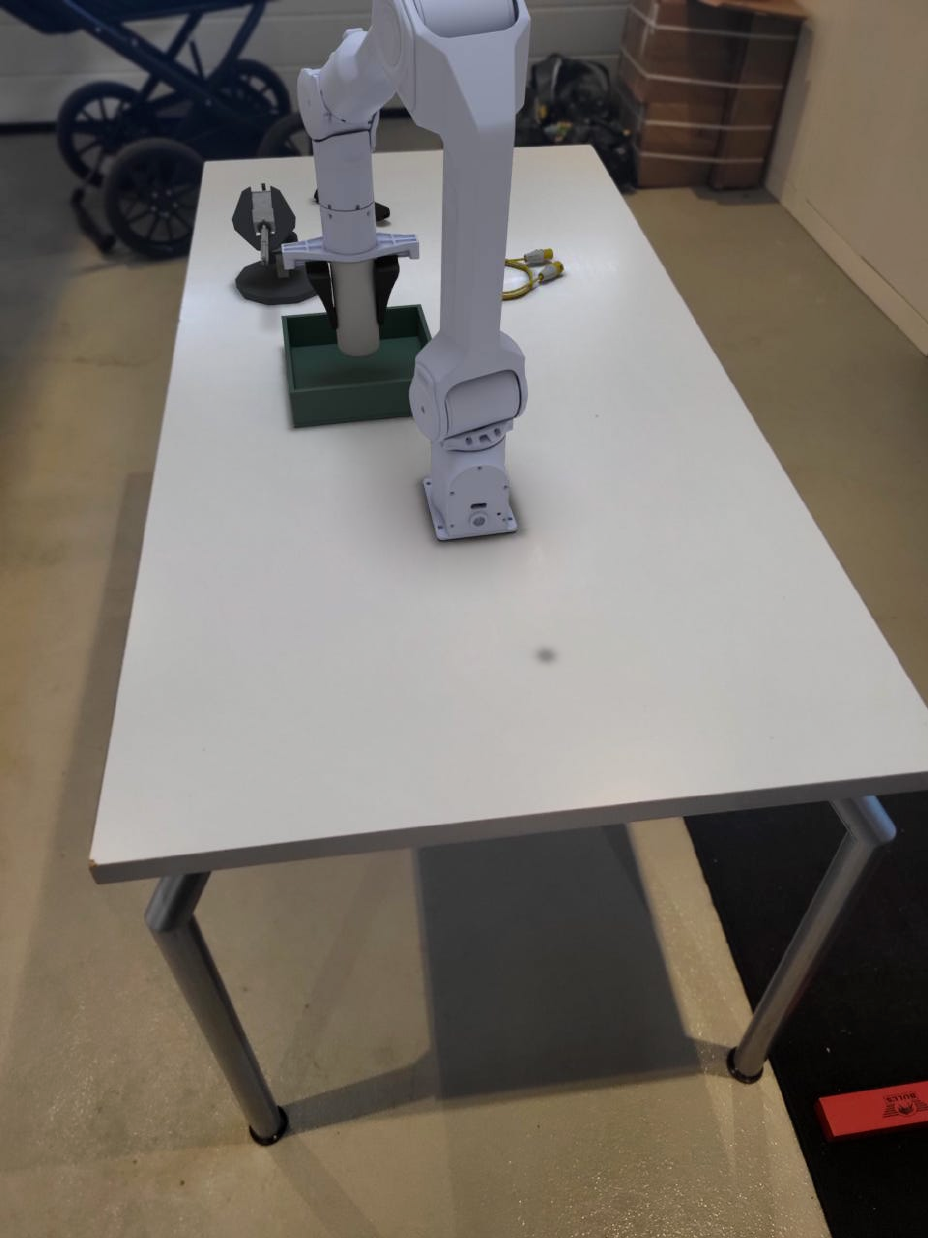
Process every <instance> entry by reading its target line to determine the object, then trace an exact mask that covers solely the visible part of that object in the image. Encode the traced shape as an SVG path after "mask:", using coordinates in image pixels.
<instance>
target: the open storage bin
mask: <svg viewBox="0 0 928 1238" xmlns="http://www.w3.org/2000/svg"><path fill="white" fill-rule="evenodd" d="M280 318H281V327H282V336H283V347H284V357H285V364H286V365H285V366H286V376H287V386H288V387H287V388H288V396H289V401H290V406H291V408H290V409H291V413H292V420H293V426H294V428H303V427H312V426H313V427H314V426H323V425H329V424H331V425H332V424H341V423H350V422H351V423H352V422H360V421H370V420H379V419H380V420H381V419H390V418H399V417H408V416H413V414H412V411H411V407H410V401H409V389H410V385H411V383H412V379H413V377H414V371H415V357H416V356H417V355H418V353H419V352H420V351H421V350H422V349H423V348H424V347H425V346H426V345H427V344H428V343H429V342H430V341H431V340H432V338H433V337H432V334H431V331H430V328H429V325H428V321H427V318H426V316H425V312H424V310H423V306H422V304H421V303H417V304H404V305H391V306H387V308H386V313H385V321H384V325H378V328H379V342H380V345H379V348H378V350H377V351H376V352H375V353H374V354H373V355H371V356H369V357H366V358H351V357H348V356H346V355H345V354H343V353H342V351H341V350H340V349H339V347H338V339H337V330H336V329H331V325H330V321H329V318H328V315H327V312H326V311H324V312H313V313H312V312H311V313H301V314H300V313H299V314H289V315H281V317H280Z"/></svg>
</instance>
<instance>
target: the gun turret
mask: <svg viewBox="0 0 928 1238" xmlns="http://www.w3.org/2000/svg"><path fill="white" fill-rule="evenodd" d="M260 187H261V190H255V191H254V190H253V191H252V186H251V185H250V186H248V187H246V188H244V189H243V190H241V192H240V195H239V197H238V200H237V203H236V206H235V208H234V211H233V214H232V216H231V223H232V226H233V231H235V232H236V233H237V234H238V235H239V236H240V237H241V238H243V240H245V241H246V242H247V243H248V244H249V245H250V246H251V247H252V248H254V249H255V250H256V251H258V252H260V260H258V261H256V262H252V263H251V264H247V265H245V266H243V268H242V269H241V270H240V272H239V274H238V275H237V276H236V277H235V278H234V282H235V287H236V288H237V290H238V291H239V293H240V294H241V295H242V297H243V298H244V299H246V300H249V301H252V302H256V303H260V304H264V305H267V306H271V305H272V306H273V305H289V304H299V303H301V302H303V301H305V300H308V299H310V298H313V297H316V296H318V294H317V293H316V291H315V290H314V288H313V287H312V285H311V284H310V282H309V280H308V278H307V273H306V266H305V265H299V266H295V268H294V269H285V268H284V261H283V254H282V246H281V244H287V243H294V242H299V237H298V234H297V233H296V232H295V231H294V230H295V229H296V221H297V219H296V218H297V217H296V215H295V213H294V211H293V210H292V208H291V206H290V205H289V202H288V201H287V200H286V197H285V196H284V194H283V193H282V191H281V190H280V189H279V188H277V187H275V186H273V185H269V189H268V190H267V189H266V183H265V182H261V183H260Z"/></svg>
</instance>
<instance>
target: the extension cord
mask: <svg viewBox="0 0 928 1238" xmlns="http://www.w3.org/2000/svg"><path fill="white" fill-rule="evenodd" d="M553 259H554V251H553V248H545V249H543V248H538V249H535V250H532V251H530V252H528V253H524V254H523V257H520V258H511V259H509V258H505V266H506V265H507V266H511V267H514V268H518V269H521V270H523V271H525V272H526V273H527V274H528V276H529V282H528V283H526V284H525V285H523V286H521V287H518V288H516V289H513V290H507V291H503V295H502V300H508V299H513V298H516V297H519V296H521V295H525V294H526V293H527V292H529V291H530V290H531V289H532V287H533V285H534V283H536V282H538V281H540V282H543V281H547V280H553V279H554V278H555V277H557V276H558V275H560V274H562V273H563V271H564V270H565V267H564V264H563V263H562V262H561V261H559V260H556V261H554V262H552V263H550V264H548V265H545V266H544V268H543V269H542V270H541V271H540V272H539V273H538V274H537V277H536V278H533V274H532V272H531V271H532V270H531V269H530V268H529V266H527V265H526V264H541V263H544V262H546V261H551V260H553ZM523 261H524V263H525V264H524V263H522V262H523Z"/></svg>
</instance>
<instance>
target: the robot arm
mask: <svg viewBox="0 0 928 1238" xmlns="http://www.w3.org/2000/svg"><path fill="white" fill-rule="evenodd" d="M371 3H372V5H371V7H372V8H371V25H370V28H368V30H364V29H363V28H362V27H358V28H350V29H346V30H345V31H344V33H343V34H342V39H343V41H342V42H341V43H340V44H339V46H338V47H337V49H336V50H335V51H332V52H331V53H330V55H329V56H328V60H327V61H326V62H325V63H324V65H323V66H322V67H321V68H315V69H312V68H309V67H303V68H301V69H300V72H299V74H298V76H297V81H296V97H297V104H298V109H299V113H300V118H301V120H302V123H303V126H304V129H305V131H306V132H307V134H308V136H309V137H310V138H311V143H312V152H313V153H312V154H313V161H314V169H315V171H314V172H315V179H316V189H318V198H319V202H318V205H319V215H320V216H319V217H320V225H321V236H316V237H312V238H308V239H303V240H300V241H299V240H298V242H294V243H287V244H281V246H282V254H283V261H284V268H285V269H294V268H295V266H299V265H305V266H306V273H307V278H308V280H309V282H310V284H311V285H312V287H313V288H314V290H315V291H316V293H317V294H318V295H317V296H318V298H319V300H320V302H321V304H322V306H323V308H324V310H325V312H327V315H328V318H329V321H330V325H331V329H337V320H336V315H335V310H334V302H333V292H332V283H331V273H330V264H329V263H330V262H329V261H334V262H360V261H365V260H369V259H372V258H374V269H375V284H376V298H377V317H378V325H384V321H385V313H386V308H387V307H388V303H389V300H390V296H391V294H392V292H393V288H394V287H395V284H396V282H397V281H398V279H399V276H400V273H401V265H400V262H399V259H401V258H408V259H410V260H420V241H419V238H418V235H417V233H390V232H380V231H379V232H377V221H376V216H375V202H376V201H375V188H374V174H373V172H374V171H373V158H372V153H373V152H374V151H376V148H377V128H378V125H379V123H380V122H379V121H380V109H382V107H384V105H386V104H387V103H388V102H389V101H390V100H391V99H392V98H393V97H394V96H395V94H396V93H397V95H398V97H399V98H400V100H401V102H402V104H403V105H404V107H405V108H406V111H407V112H408V114H409V115H410V117H411V119H412V120H413V122H414V124H415V125H416V126H418V127H420V128H421V129H425V130H427V131H430V132H432V133H435V134H437V135H439V137H440V139H441V141H442V187H441V188H442V190H441V192H442V193H441V195H442V196H441V198H442V199H441V203H442V204H441V240H440V241H441V242H440V243H441V244H440V245H441V246H440V247H441V248H440V250H441V251H440V295H439V296H440V299H439V301H440V303H439V330H438V331H437V333H436V334H435V335H434V336H433V337H432V340H431V341H430V342H429V343H428V344H427V345H426V346H425V347H424V348H423V349H422V350H421V351H420V352H419V353H418V355H417V356H416V357H415V371H414V377H413V379H412V383H411V385H410V389H409V401H410V407H411V411H412V414H413V415H412V417H413V420H414V422H415V425H416V426H417V428H418V430H419V432H420V433H421V434H422V436H423V437H425V438H427V439H428V440H429V441H430V465H431V466H430V467H431V471H430V472H431V477H425V478H424V479H423V480H422V484H423V488H424V491H425V495H426V498H427V504H428V507H429V511H430V515H431V519H432V523H433V527H434V531H435V535H436V538H437V539H438V540H440V541H446V540H453V539H460V538H461V539H462V538H470V537H479V536H486V535H494V534H503V533H510V532H515V531H516V530H518V525H517V522H516V519H515V516H514V513H513V511H512V508H511V505H510V488H511V486H510V485H511V483H510V477H509V475H508V472H507V469H506V465H505V458H506V442H507V441H506V437H507V433H509V432H510V431H513V430H514V419H517V418H519V417H521V416H522V415H523V414H524V412H525V410H526V407H527V404H528V399H529V387H528V381H527V377H526V355H525V354H524V352H523V351H522V349H521V347H520V345H519V344H518V343H517V342H516V340H514V339H513V338H512V337H511V336H510V335H508V334H507V333H505V332H504V331H502V330H501V320H502V319H501V318H502V309H503V308H502V307H503V299H502V295H504V294H503V292H504V283H505V269H506V268H505V267H506V264H505V259H506V255H507V241H508V230H509V217H510V201H511V192H512V191H511V189H512V180H513V179H512V176H513V165H514V164H513V163H514V152H515V139H516V115H517V114H518V113H519V112H520V110H522V108H523V107H524V105H525V96H526V86H527V85H526V84H527V75H528V65H529V64H528V63H529V50H530V41H531V40H530V39H531V38H530V37H531V27H532V26H531V25H532V17H531V16H530V13H529V11H528V8H527V4H526V2H525V0H372V1H371Z"/></svg>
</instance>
